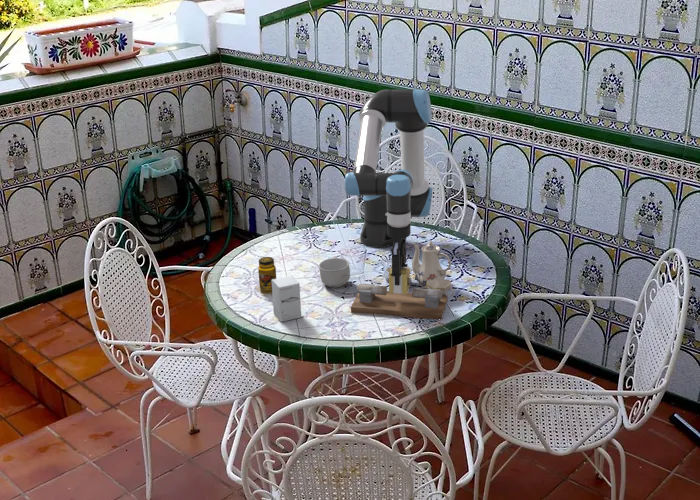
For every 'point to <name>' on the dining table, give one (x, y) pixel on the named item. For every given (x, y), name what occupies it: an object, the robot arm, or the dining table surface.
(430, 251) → the chinaware
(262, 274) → the condiment
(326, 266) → the teacup
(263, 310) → the dining table surface
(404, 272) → the block
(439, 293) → the rig
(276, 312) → the supplement box
